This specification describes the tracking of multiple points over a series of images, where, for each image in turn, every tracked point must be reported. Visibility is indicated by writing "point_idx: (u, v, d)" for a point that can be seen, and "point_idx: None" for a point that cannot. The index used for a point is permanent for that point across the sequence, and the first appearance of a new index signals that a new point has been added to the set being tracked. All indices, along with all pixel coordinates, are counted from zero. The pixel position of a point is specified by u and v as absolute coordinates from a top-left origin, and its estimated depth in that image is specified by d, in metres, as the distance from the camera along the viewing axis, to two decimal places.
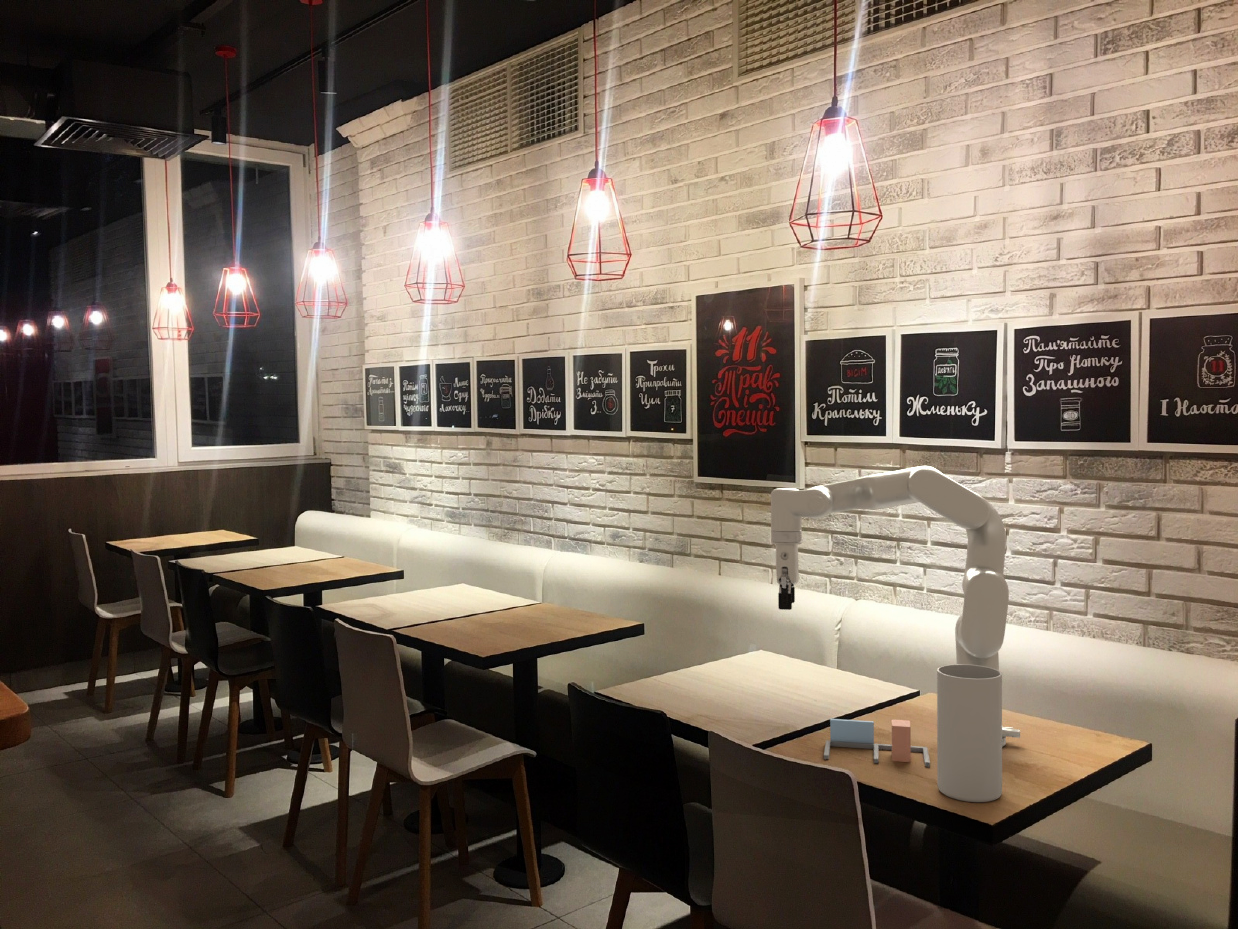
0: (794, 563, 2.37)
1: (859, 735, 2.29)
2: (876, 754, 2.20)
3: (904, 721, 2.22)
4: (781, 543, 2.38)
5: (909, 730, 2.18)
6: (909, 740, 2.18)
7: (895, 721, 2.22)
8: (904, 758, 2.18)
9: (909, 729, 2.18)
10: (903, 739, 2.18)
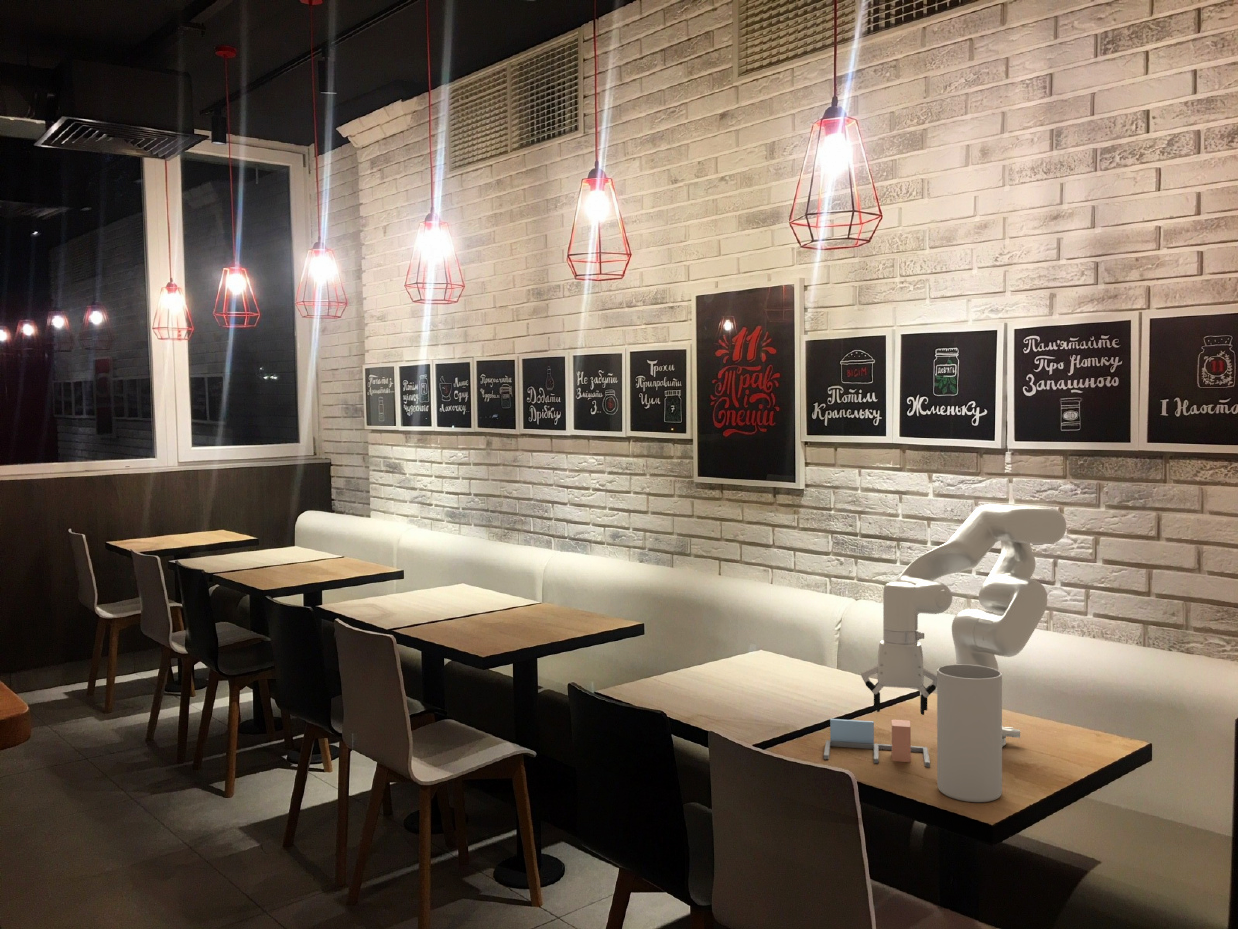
0: None
1: (859, 735, 2.29)
2: (876, 754, 2.20)
3: (904, 721, 2.22)
4: (917, 643, 2.18)
5: (909, 730, 2.18)
6: (909, 740, 2.18)
7: (895, 721, 2.22)
8: (904, 758, 2.18)
9: (909, 729, 2.18)
10: (903, 739, 2.18)
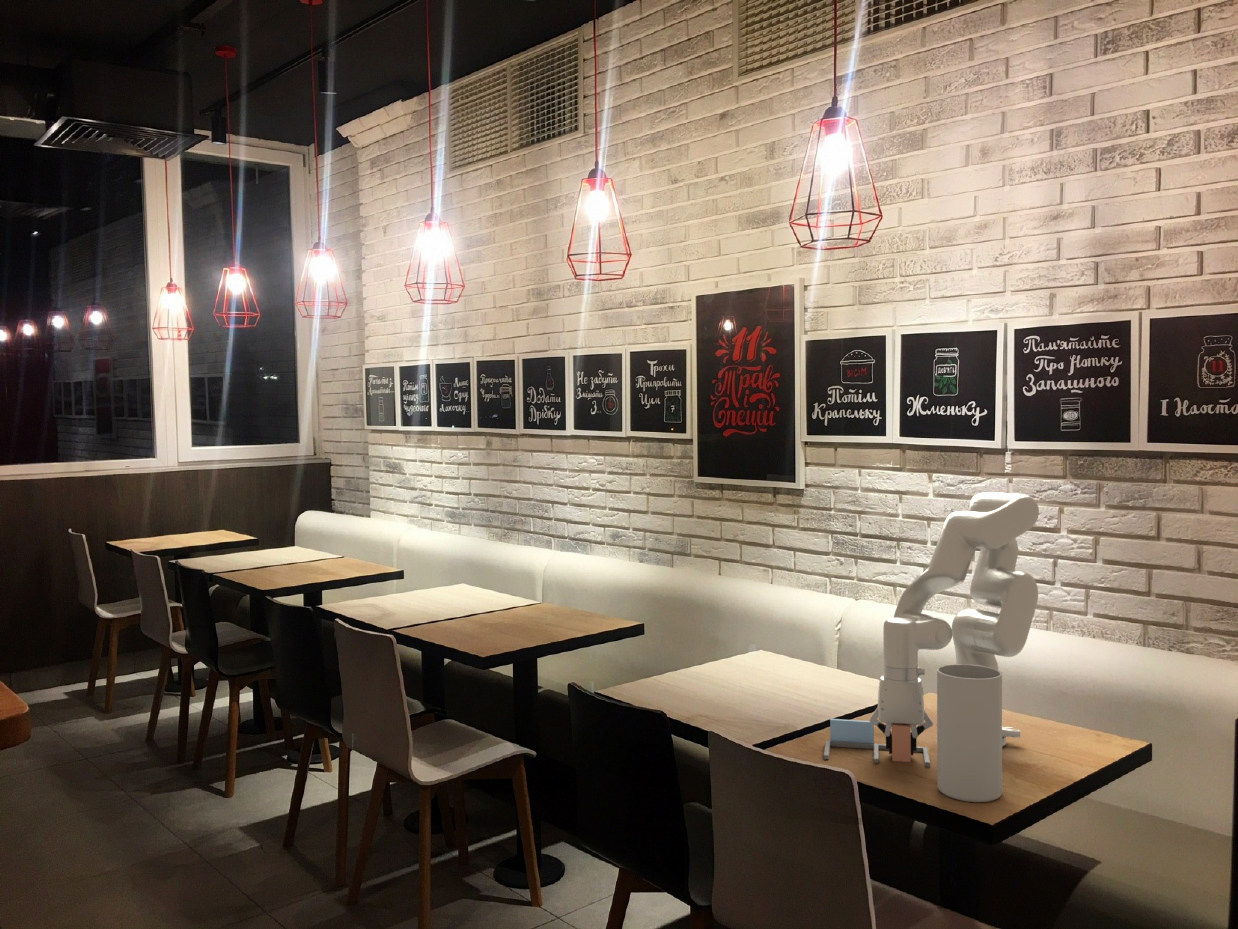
0: None
1: (859, 735, 2.29)
2: (876, 754, 2.20)
3: None
4: (917, 679, 2.18)
5: (909, 730, 2.18)
6: (909, 740, 2.18)
7: None
8: (904, 758, 2.18)
9: (909, 729, 2.18)
10: (903, 739, 2.18)
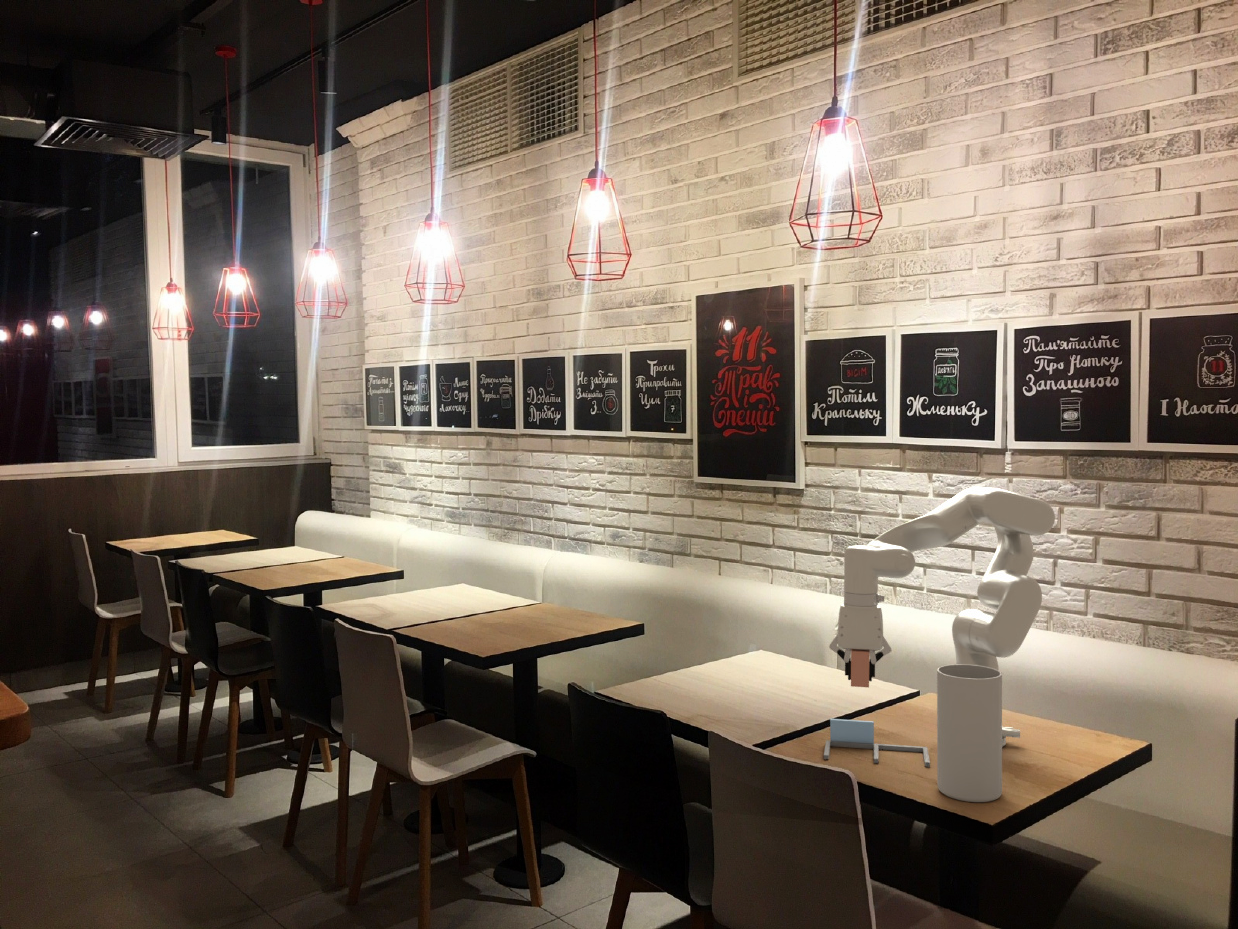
0: None
1: (859, 735, 2.29)
2: (876, 754, 2.20)
3: None
4: (877, 605, 2.20)
5: (868, 655, 2.19)
6: (868, 665, 2.19)
7: None
8: (863, 683, 2.20)
9: (868, 654, 2.19)
10: (862, 664, 2.20)
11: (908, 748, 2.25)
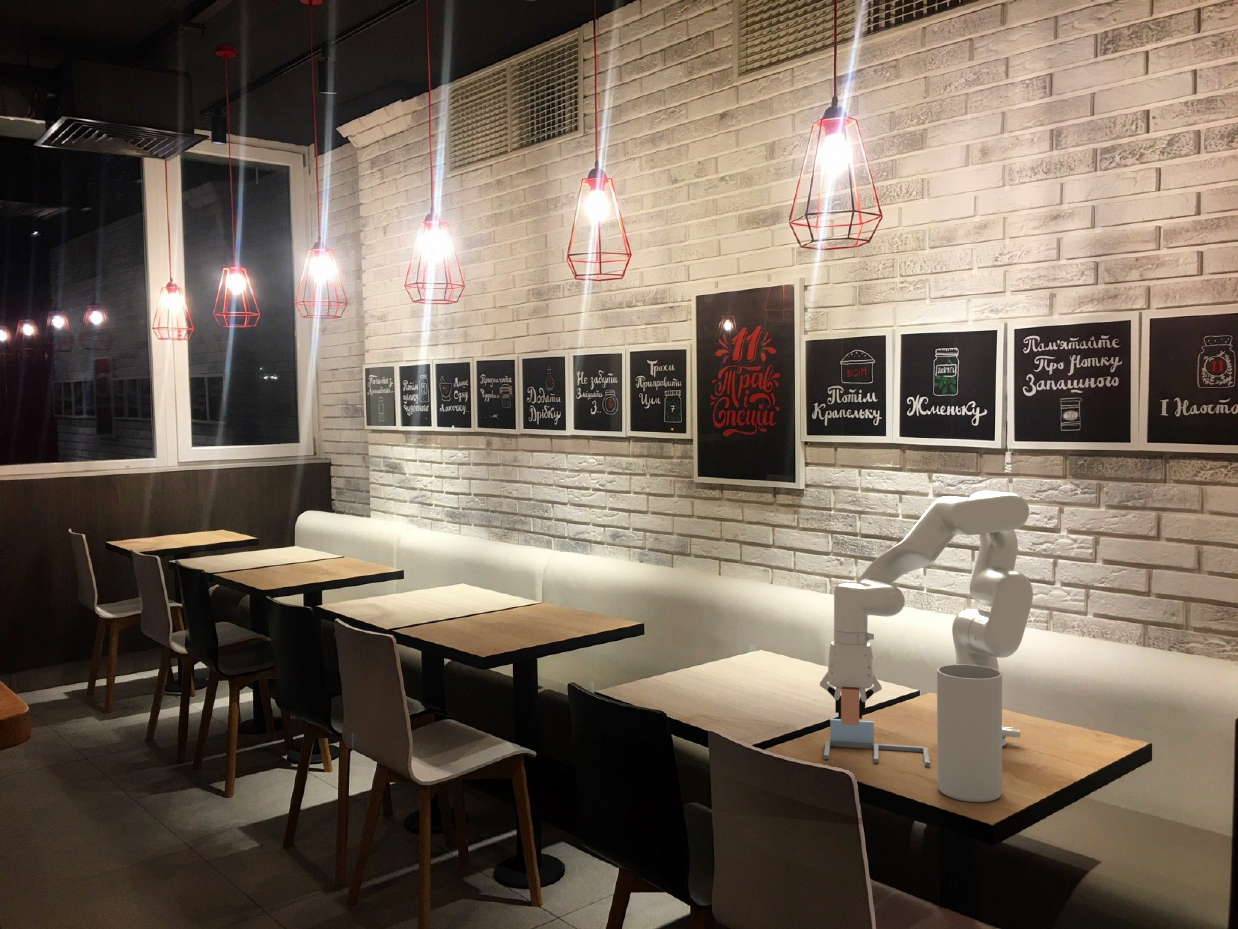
0: None
1: (859, 735, 2.29)
2: (876, 754, 2.20)
3: None
4: (866, 644, 2.21)
5: (858, 693, 2.20)
6: (858, 703, 2.20)
7: None
8: (853, 721, 2.21)
9: (858, 692, 2.20)
10: (852, 702, 2.21)
11: (908, 748, 2.25)
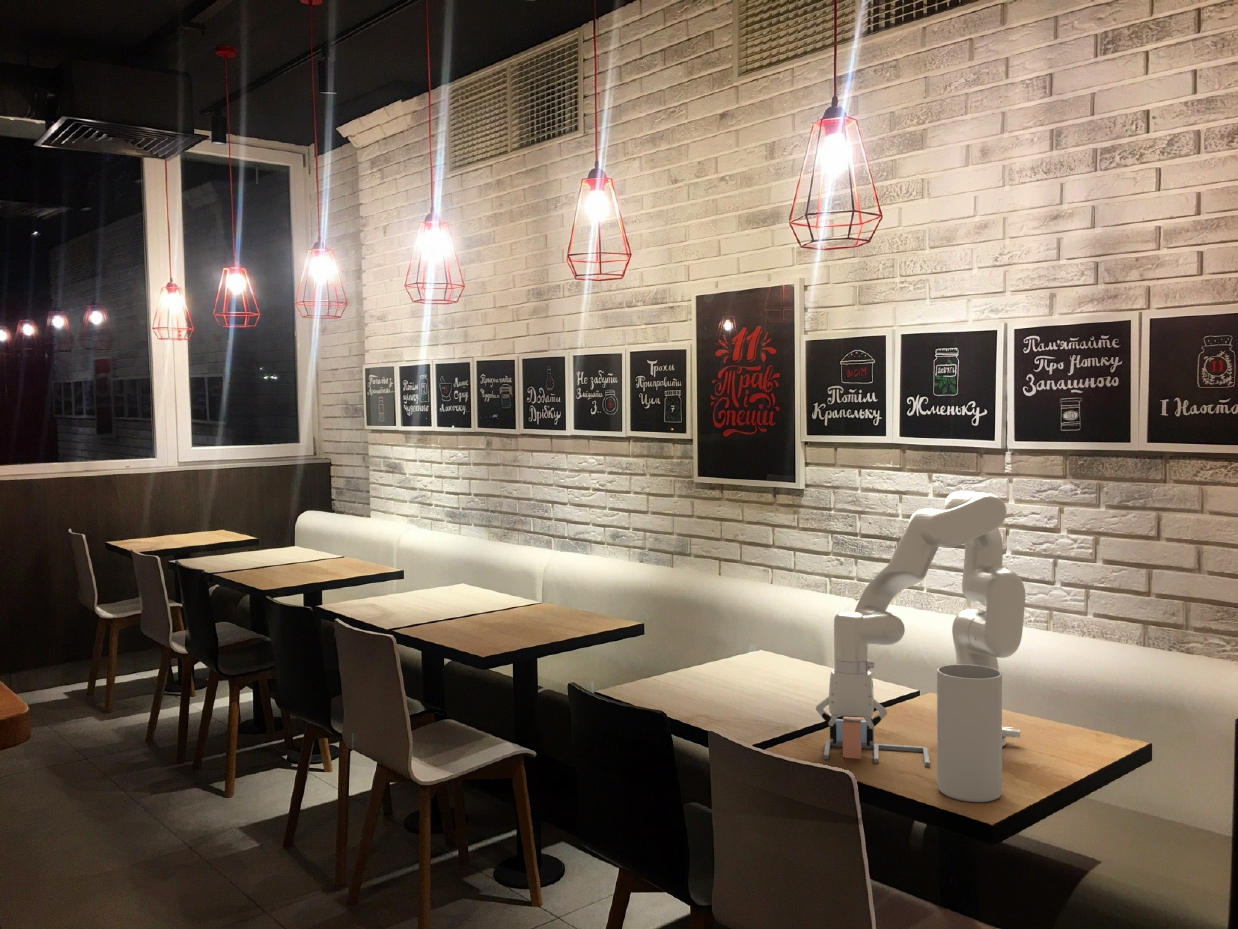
0: None
1: None
2: (876, 754, 2.20)
3: (856, 718, 2.25)
4: (867, 672, 2.21)
5: (859, 727, 2.20)
6: (859, 737, 2.20)
7: (846, 718, 2.25)
8: (854, 754, 2.21)
9: (859, 726, 2.20)
10: (854, 736, 2.21)
11: (908, 748, 2.25)
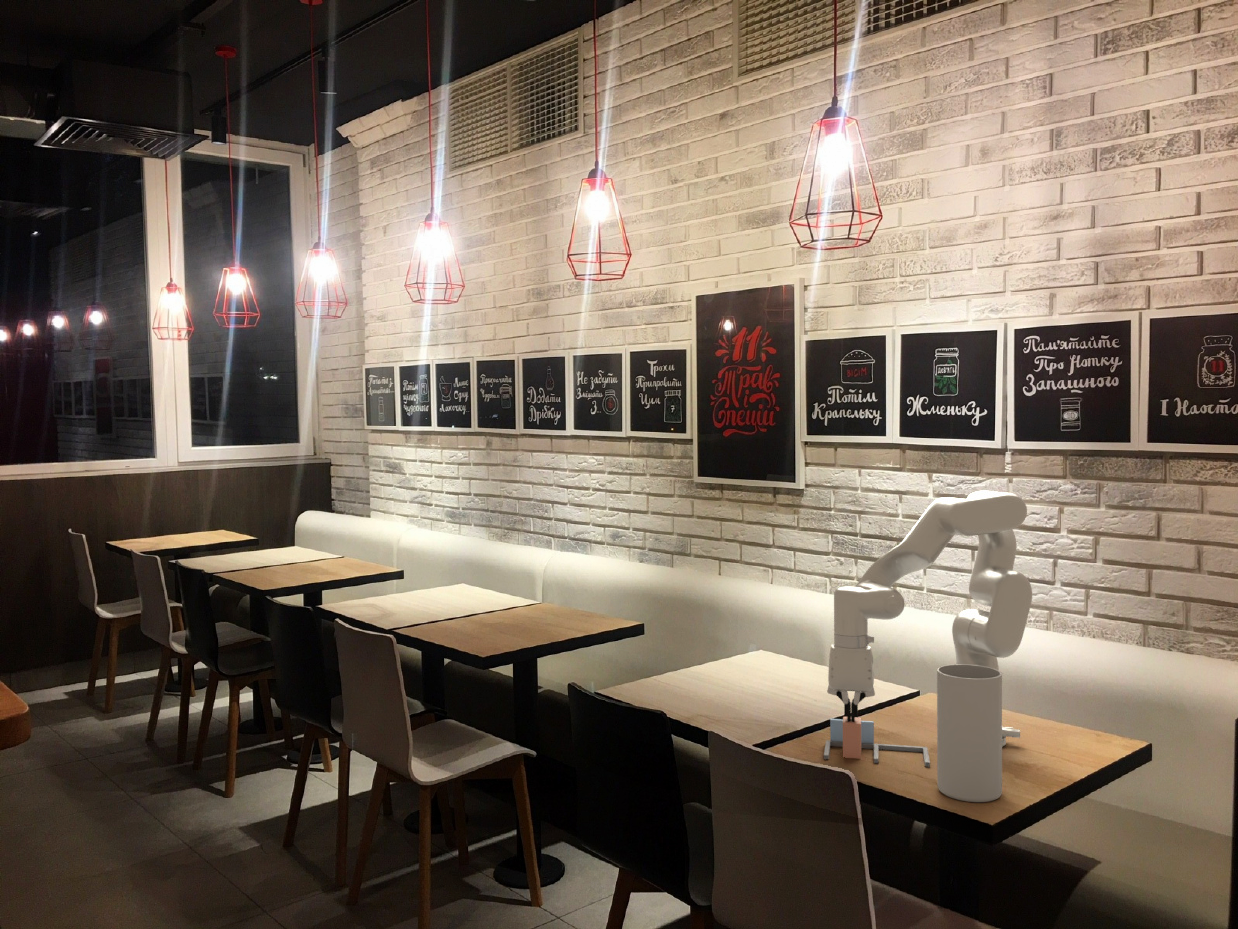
0: None
1: None
2: (876, 754, 2.20)
3: (856, 718, 2.25)
4: (866, 647, 2.21)
5: (859, 727, 2.20)
6: (859, 737, 2.20)
7: (846, 718, 2.25)
8: (854, 754, 2.21)
9: (859, 726, 2.20)
10: (854, 736, 2.21)
11: (908, 748, 2.25)
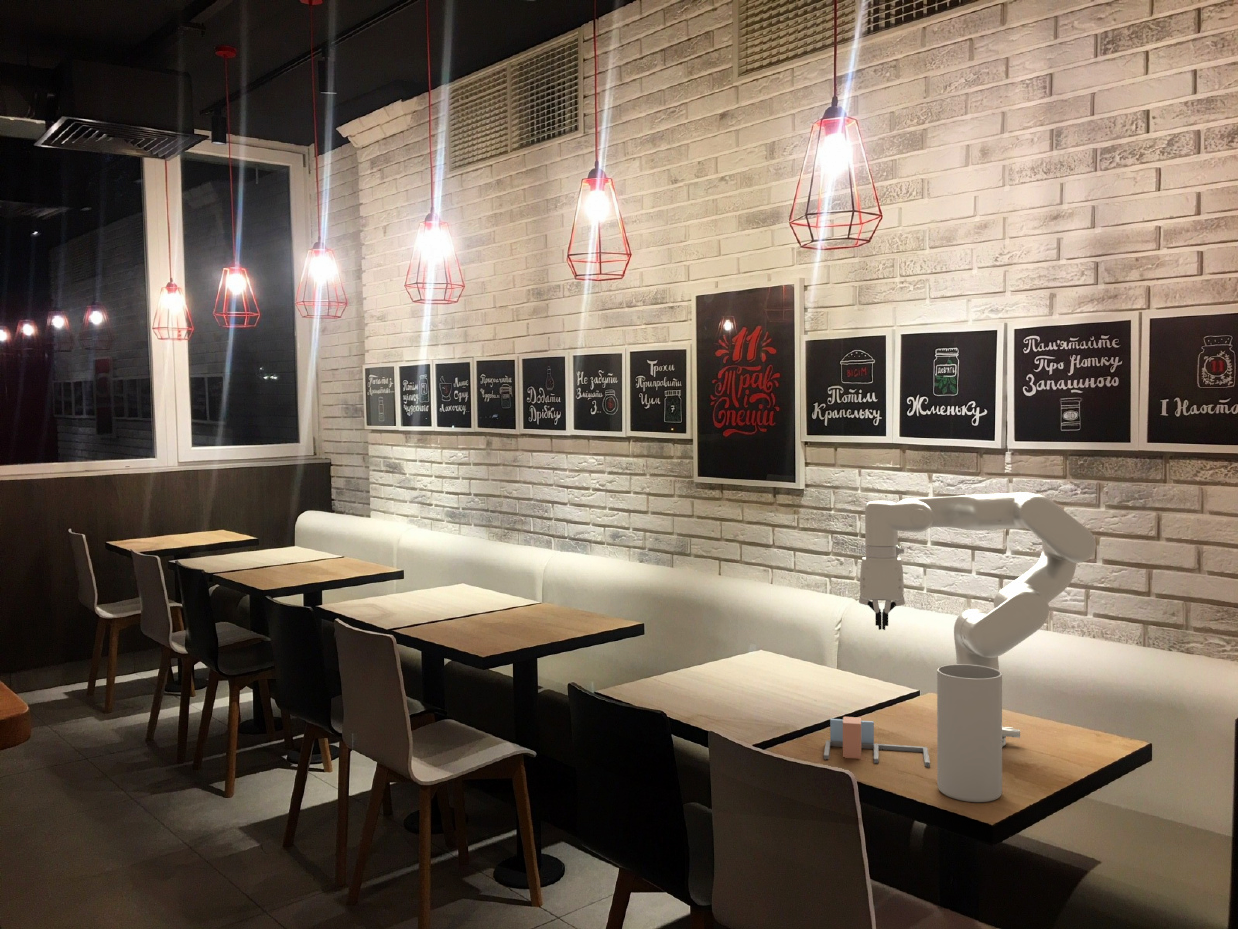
0: None
1: None
2: (876, 754, 2.20)
3: (856, 718, 2.25)
4: (897, 557, 2.30)
5: (859, 727, 2.20)
6: (859, 737, 2.20)
7: (846, 718, 2.25)
8: (854, 754, 2.21)
9: (859, 726, 2.20)
10: (854, 736, 2.21)
11: (908, 748, 2.25)
